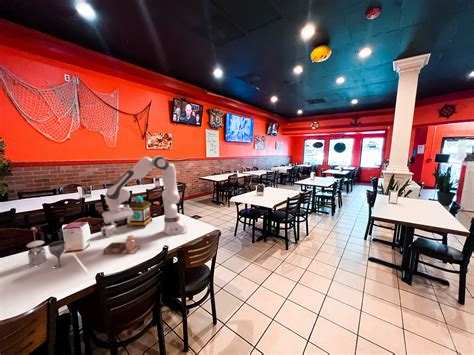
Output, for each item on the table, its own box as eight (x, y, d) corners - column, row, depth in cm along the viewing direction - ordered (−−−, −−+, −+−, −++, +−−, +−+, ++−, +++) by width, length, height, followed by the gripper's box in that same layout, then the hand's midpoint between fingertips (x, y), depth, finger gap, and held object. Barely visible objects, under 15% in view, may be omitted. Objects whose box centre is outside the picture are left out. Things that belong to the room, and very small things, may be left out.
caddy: (141, 247, 149) (141, 241, 148) (134, 255, 137) (134, 249, 136) (112, 247, 147) (112, 241, 146) (102, 256, 135) (102, 250, 135)
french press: (29, 269, 118) (23, 232, 115) (24, 263, 124) (19, 227, 121) (50, 262, 127) (46, 226, 123) (45, 256, 133) (40, 222, 129)
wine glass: (48, 270, 118) (45, 247, 116) (53, 263, 125) (51, 242, 123) (65, 266, 122) (62, 245, 120) (69, 260, 129) (66, 239, 127)
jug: (124, 249, 142) (123, 236, 140) (133, 246, 146) (132, 233, 145) (129, 253, 137) (128, 239, 135) (137, 250, 142) (137, 236, 140)
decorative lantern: (124, 228, 182) (122, 198, 177) (135, 220, 201) (133, 193, 197) (145, 228, 182) (144, 198, 177) (154, 221, 202) (153, 193, 197)
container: (109, 237, 163) (108, 223, 161) (101, 236, 165) (100, 222, 163) (116, 233, 171) (115, 219, 169) (109, 232, 172) (108, 218, 170)
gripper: (101, 210, 141) (108, 226, 137) (130, 204, 157) (136, 218, 153) (100, 214, 145) (106, 230, 140) (128, 208, 161) (134, 222, 156)
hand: (122, 224), depth 147 cm, fingers open, 8 cm apart
